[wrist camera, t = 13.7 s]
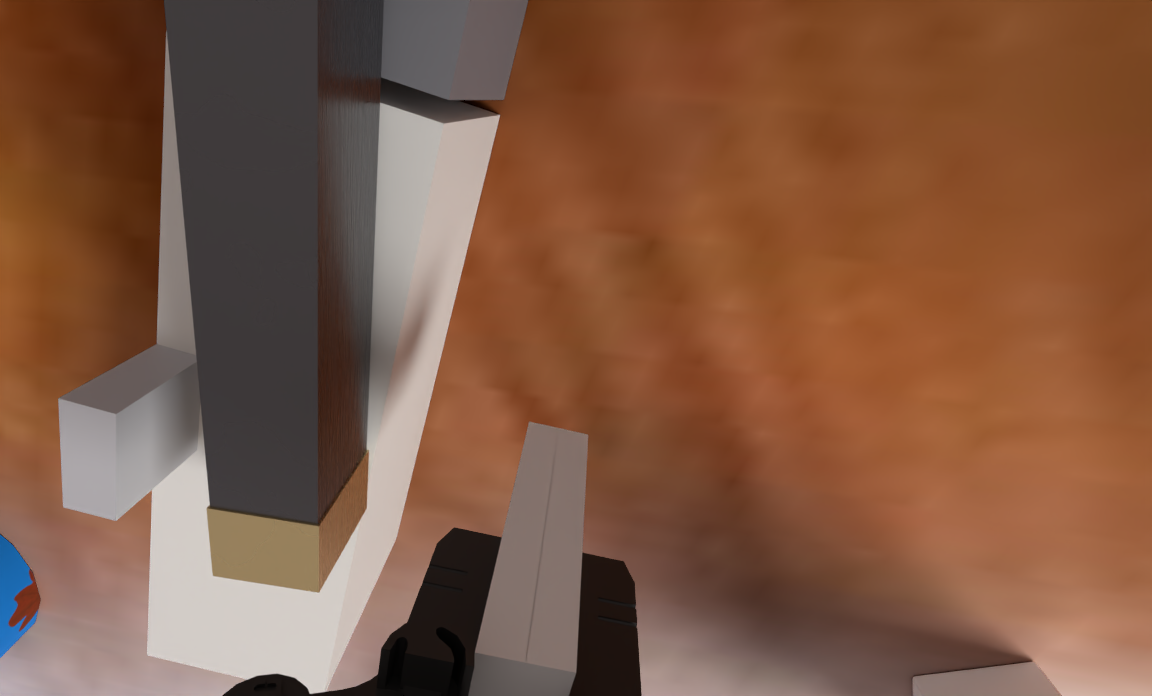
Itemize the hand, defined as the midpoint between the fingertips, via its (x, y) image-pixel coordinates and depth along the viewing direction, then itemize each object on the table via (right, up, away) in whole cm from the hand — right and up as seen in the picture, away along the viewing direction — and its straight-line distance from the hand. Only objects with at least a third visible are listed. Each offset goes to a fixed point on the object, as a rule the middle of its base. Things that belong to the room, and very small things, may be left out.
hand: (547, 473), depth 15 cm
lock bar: (-5, +6, -1) cm, 8 cm away
